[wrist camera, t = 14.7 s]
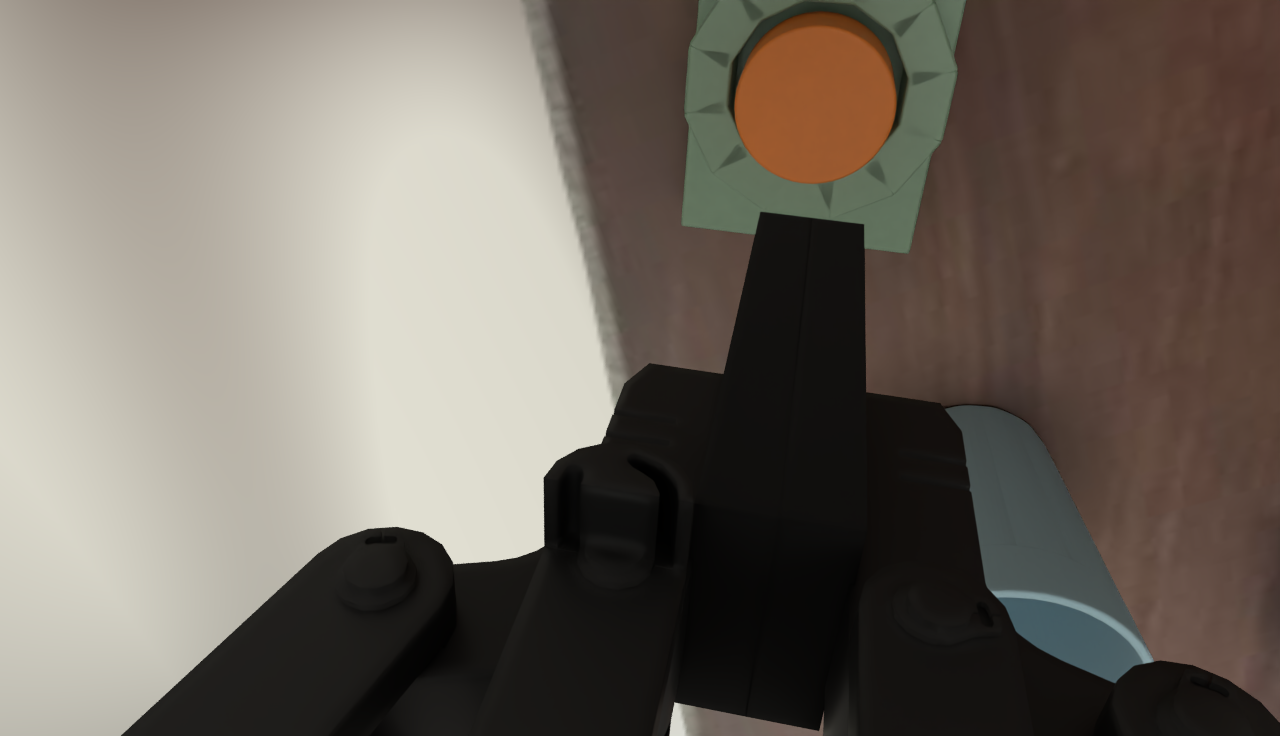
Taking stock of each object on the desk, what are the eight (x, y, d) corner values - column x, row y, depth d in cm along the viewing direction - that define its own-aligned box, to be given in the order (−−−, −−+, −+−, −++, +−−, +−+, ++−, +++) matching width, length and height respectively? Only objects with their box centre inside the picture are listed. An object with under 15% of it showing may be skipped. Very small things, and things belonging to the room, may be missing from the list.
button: (749, 3, 24) (742, 17, 22) (908, 18, 23) (912, 33, 22) (733, 154, 26) (726, 175, 25) (878, 170, 26) (880, 193, 24)
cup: (821, 424, 35) (813, 640, 26) (1028, 342, 31) (1098, 557, 23) (911, 565, 37) (931, 803, 29) (1110, 503, 34) (1201, 750, 25)
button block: (719, -143, 26) (699, -131, 22) (982, -124, 25) (1003, -110, 21) (690, 200, 31) (671, 250, 28) (905, 226, 30) (912, 281, 27)
